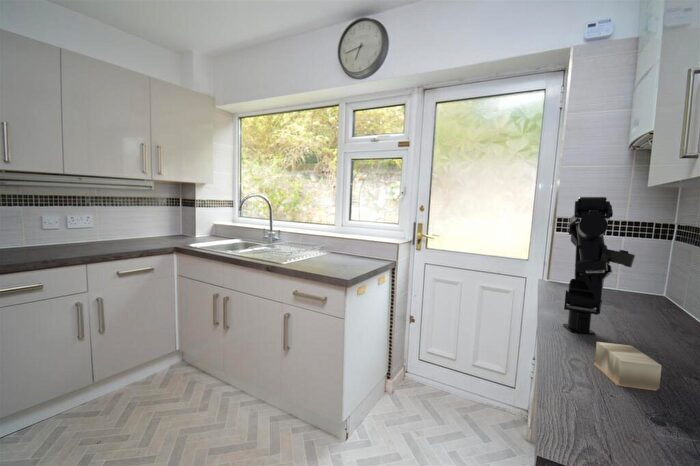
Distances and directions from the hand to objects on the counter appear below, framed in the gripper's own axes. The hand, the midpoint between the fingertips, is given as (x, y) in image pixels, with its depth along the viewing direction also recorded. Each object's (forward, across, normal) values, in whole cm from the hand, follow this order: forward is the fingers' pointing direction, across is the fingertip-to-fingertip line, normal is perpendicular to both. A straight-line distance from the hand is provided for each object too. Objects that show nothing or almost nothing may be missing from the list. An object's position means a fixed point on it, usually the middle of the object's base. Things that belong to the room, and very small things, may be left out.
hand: (598, 299), depth 85 cm
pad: (+16, -12, -4) cm, 21 cm away
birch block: (+12, -8, -2) cm, 15 cm away
